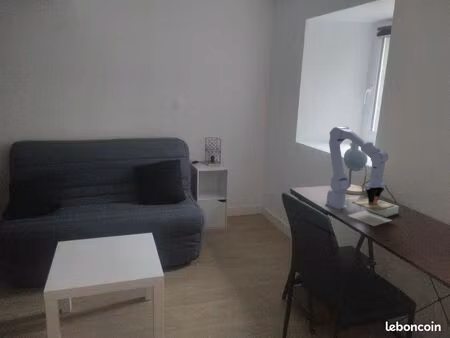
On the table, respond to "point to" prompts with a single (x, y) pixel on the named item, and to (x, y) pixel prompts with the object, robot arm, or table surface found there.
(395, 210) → the open box
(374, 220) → the mat
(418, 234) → the table surface
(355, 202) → the lid
